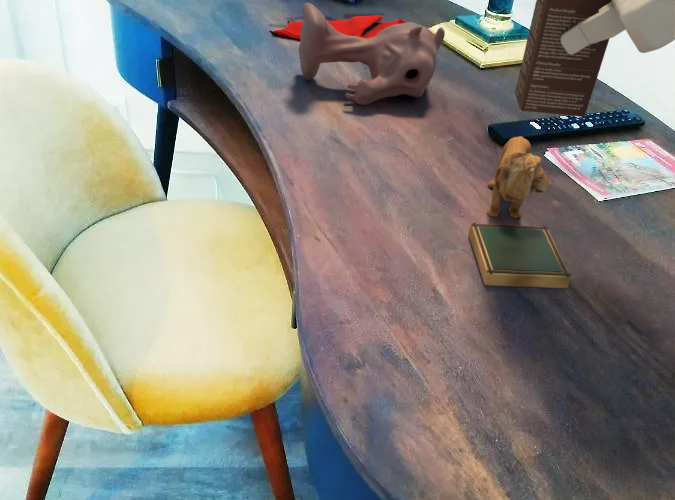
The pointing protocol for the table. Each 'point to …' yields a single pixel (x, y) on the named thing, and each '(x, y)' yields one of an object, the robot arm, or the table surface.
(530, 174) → the lion figurine
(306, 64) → the dragon head
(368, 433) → the table surface
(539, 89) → the box
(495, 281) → the green gold display base
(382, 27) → the cloth
